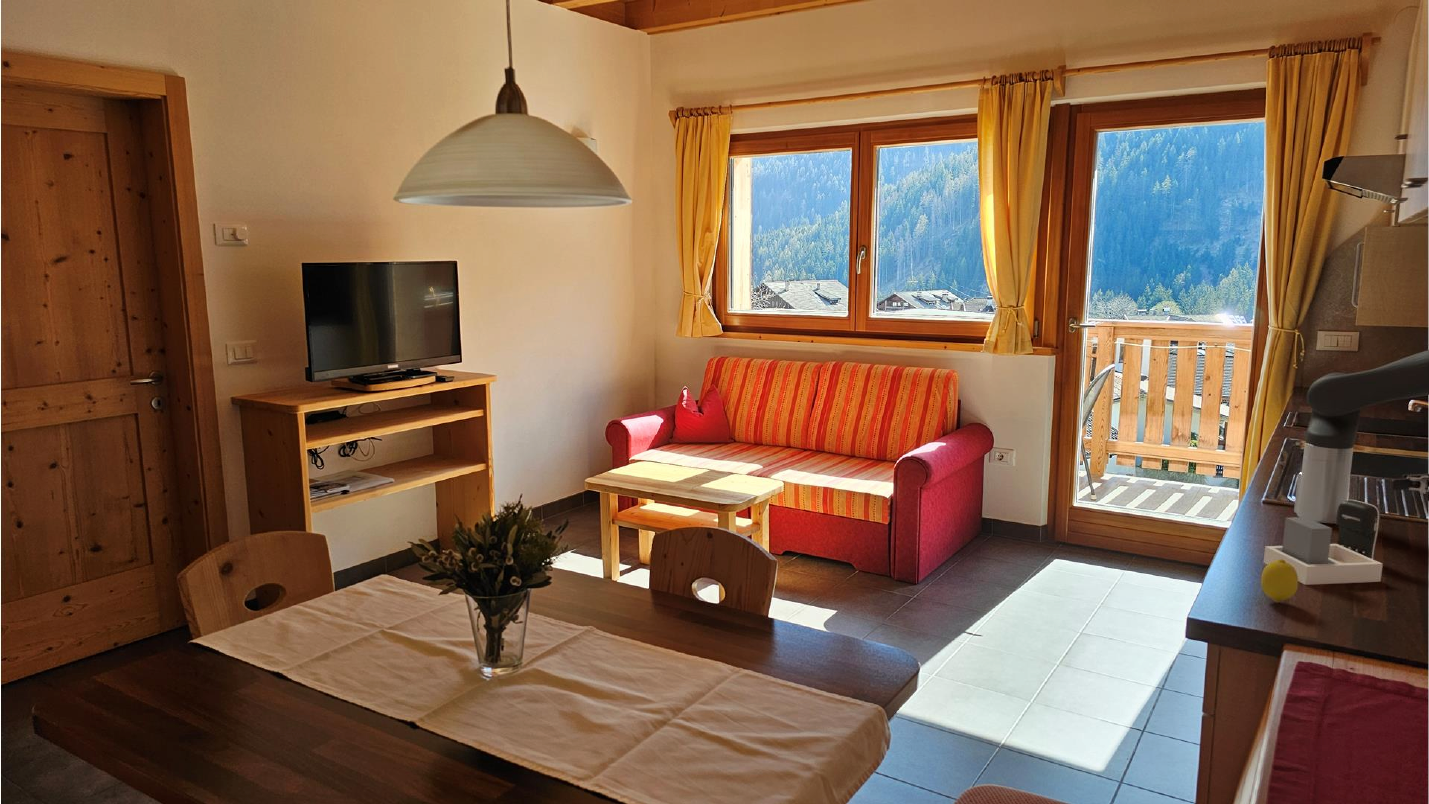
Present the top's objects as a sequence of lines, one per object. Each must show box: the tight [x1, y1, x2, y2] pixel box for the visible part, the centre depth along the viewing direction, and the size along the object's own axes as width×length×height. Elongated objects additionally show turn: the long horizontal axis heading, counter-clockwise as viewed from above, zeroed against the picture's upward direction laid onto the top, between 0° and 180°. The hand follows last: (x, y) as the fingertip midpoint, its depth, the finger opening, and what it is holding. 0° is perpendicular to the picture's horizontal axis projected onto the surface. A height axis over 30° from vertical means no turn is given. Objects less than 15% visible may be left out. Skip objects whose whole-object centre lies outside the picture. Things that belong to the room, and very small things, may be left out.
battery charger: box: [1334, 499, 1381, 560], centre depth 188 cm, size 7×4×11 cm, turn 22°
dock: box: [1263, 516, 1384, 586], centre depth 180 cm, size 11×15×10 cm
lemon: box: [1260, 559, 1299, 604], centre depth 166 cm, size 6×6×8 cm
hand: (1408, 490), depth 187 cm, fingers open, 8 cm apart
